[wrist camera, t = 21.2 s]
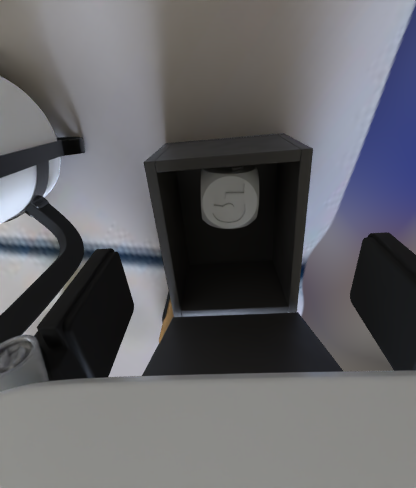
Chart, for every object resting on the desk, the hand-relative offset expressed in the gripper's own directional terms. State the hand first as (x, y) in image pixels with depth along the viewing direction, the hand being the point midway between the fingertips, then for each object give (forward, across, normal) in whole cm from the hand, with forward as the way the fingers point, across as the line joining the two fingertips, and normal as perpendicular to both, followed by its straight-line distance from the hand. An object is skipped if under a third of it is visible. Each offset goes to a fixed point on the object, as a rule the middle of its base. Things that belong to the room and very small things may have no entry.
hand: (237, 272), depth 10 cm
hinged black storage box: (+19, 0, +5) cm, 20 cm away
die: (+18, 0, +2) cm, 18 cm away
